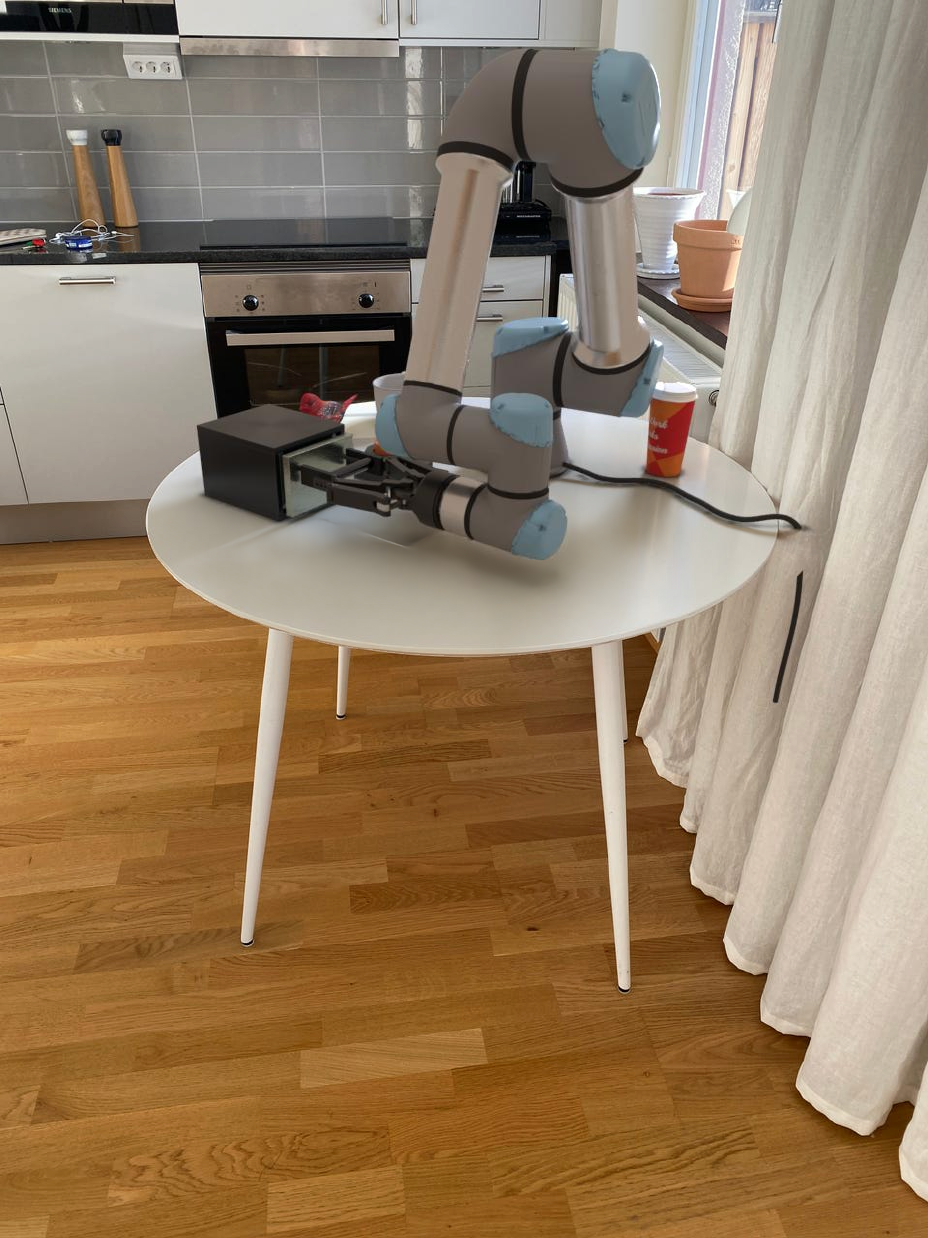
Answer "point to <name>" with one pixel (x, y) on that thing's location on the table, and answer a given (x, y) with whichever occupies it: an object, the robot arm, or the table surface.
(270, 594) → the table surface
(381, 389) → the teacup
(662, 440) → the paper cup
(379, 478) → the block
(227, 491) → the cabinet
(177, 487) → the table surface
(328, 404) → the decorative bird figurine
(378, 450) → the button
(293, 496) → the drawer
